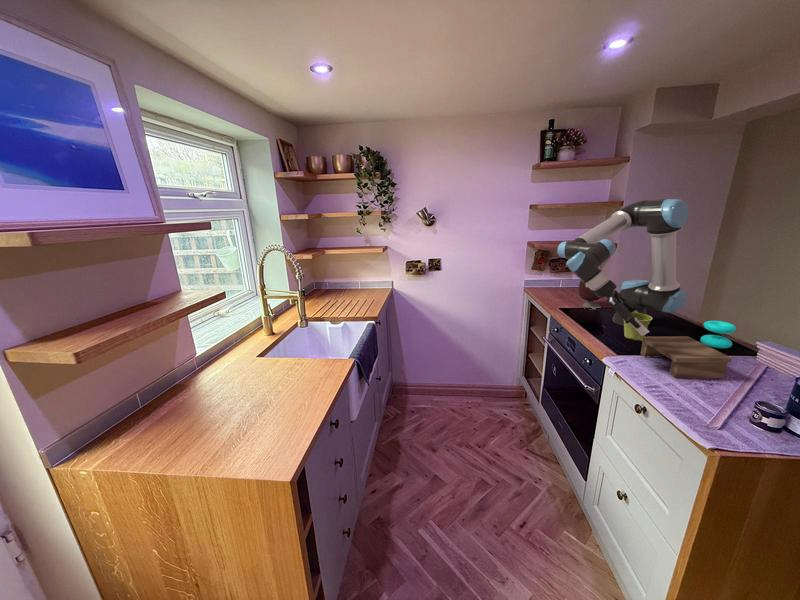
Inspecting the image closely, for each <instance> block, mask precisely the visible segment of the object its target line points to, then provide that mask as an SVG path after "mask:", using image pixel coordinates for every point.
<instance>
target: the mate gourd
mask: <svg viewBox="0 0 800 600" xmlns="http://www.w3.org/2000/svg"><path fill="white" fill-rule="evenodd" d="M579 280H580V281H579V284H578V295H579V296H580V298H581V299H583V300H585V301H587V302H583V303H584V304H583V306H586V307H591V308H592V309H591V310H597V309H596V308H600V309H601V308H602V306H601V305H600V304H598V303H595V302H596V301H599V300H600V299H601V298H598V297H597V296H596V295H595V294H594V290H591V289H590V288H589V287H586V284H585V283H584V282H583V281H582V280H581V279H579Z"/></svg>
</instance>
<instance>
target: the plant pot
mask: <svg viewBox="0 0 800 600" xmlns="http://www.w3.org/2000/svg"><path fill="white" fill-rule="evenodd" d="M631 314H632V316H633V317H634V318H636V319H637V320H638V321H639V322H640V323H641V324H642V325H643V326H644V327H645V328H646V329H647V330H648V327H649V325H650V323H651V321H652V320H654V319H653V317H652V316H650V315H648V314H647V313H646V314H641V313H631ZM629 318H630V317H629ZM627 319H628V318H627ZM623 320H624V319H623ZM623 332H624V337H625V338H626V339H628V340H629V339H630V340H633V341H641V340H642V339H643V338H644V337H646V334H645V335H643V336H642V335H641V334H640V333H639V332H638V331H637V330H636V329H635V328H634V327H633V326H632V325H631V324H630V323H627V324H626V323H625V320H624V326H623Z"/></svg>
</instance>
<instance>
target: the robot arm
mask: <svg viewBox="0 0 800 600" xmlns="http://www.w3.org/2000/svg"><path fill="white" fill-rule="evenodd" d="M689 210H690V209H689V207H688V204H687V203H686V202H685V201H684V200H683V199H680V198H677V199H676V198H673V199H672V198H666V199H650V200H645V199H644V200H639V201H635V202H633V203H631V204H628V205H626V206H623V207H621V208H620V209H618V210H616V211H615V212H613V213H612V215H611V216H610V217H609V218H607V219H605V220H604V221H602V222H601V223H600V224H598V225H596V226H595V227H592V228H591V229H590V230H588V231H586V232H585V233H583V234H581V235H579V236H578V237H576V238H575V239H573V240H571V241H570V240H569V241H568V240H567V241H562V242H561V243H559V244H558V246H557V249H556V250H557V255H558V256H559V257H560V258H563V259H567V261H566V264H565V265H566V266H567V268H568V269H569V270H570V271H571V272H572V273H573V274H574V275H575V276H576V277H578V279H579V280H582V281H583V282H584V283H585V284H586V287H589V288H590V289H591V290H594V294H595V295H596V296H597V297H598V298H600V299H602V298H605V297H606V300H607V303H608V304H609V305H610V306H611V307H612V308H613V309H614V310H615V313H614V314H613V317H612V322H613V323H614V324H617V325H619V326H623V327H624V320H625V323H626V324H627V323H630V324H631V325H632V326H633V327H634V328H635V329H636V330H637V331H638V332H639V333H640V334H641V335H642V336H643V335H645V336H646V335H647V334H648V333H650V330H649V329H648V328H647V329H646V328H645V327H644V326H643V325H642V324H641V323H640V322H639V321H638V320H637V319H636V318H634V317H633V316H632V314H631V313H641V314H646V315H647V312H646V311H647V310H646V309H650V310H655V311H659V312H662V313H669V314H674V313H677V312H678V311H680V309H681V308H683V306H684V304H685V302H686V301H687V300H686V299H687V298H688V296H687V295H688V294H687V291H685V290H684V289H681V284H680V282H678V281H677V233H678V232H679V231H681V229H682V227H683V226H685V225H686V224H687V222H688V218H689V216H690V215H689V214H690V213H689V212H690V211H689ZM635 227H636V228H637V227H642V228H643V227H645V228H646V233H647V234H648V235H650V239H651V241H650V242H651V245H650V246H651V250H650V251H651V281H650V280H646V279H630V280H626V281H625V280H624V281H623V282H622V284H621V287H620V293H619V292H618V290H616V289H617V284H616V283H615V282H614V281H613V280H612V279H610V277H609V276H608V275H607V274H605V273H604V272H603V270H601V269H600V268H599V267H601V265H603V264H604V263H605V262H606V261H607V260H609V259H610V258H611V257H612V256H613V255H614V253H616V250H617V247H616V244H615V243H614V242H613V241H611V240H610V239H609V238H611V237H612V236H614V235H616V234H617V233H619V232H621V231H626V230H628V229H629V228H635ZM629 317H630V318H629ZM627 318H628V319H627ZM623 319H624V320H623Z"/></svg>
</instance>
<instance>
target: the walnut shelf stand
mask: <svg viewBox="0 0 800 600" xmlns="http://www.w3.org/2000/svg"><path fill="white" fill-rule="evenodd" d="M640 342H642V343H641V347H640V355H641V356H643V355H644V356H666V357H665V358H668V359H670V360H671V364H670V369H669V373H668V374H669V375H670V376H672V377H673V378H675V379H724V378H725V375H726V371H727V366H728V363H731V362H732V360H733V357H731V356H729V355H727V354H725V353H723V352H721V351H719V350H717V349H715V348H714V347H710V346H707V345H705V344H703V343H702V342H701V341H698V340H696V339H694V338H692V337H690V336H688V335H687V336H686V335H681V336H680V335H677V336H673V335H671V336H667V335H666V336H663V335H662V336H660V335H659V336H644V338H643V339H642V340H640ZM644 356H643V357H644Z"/></svg>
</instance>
